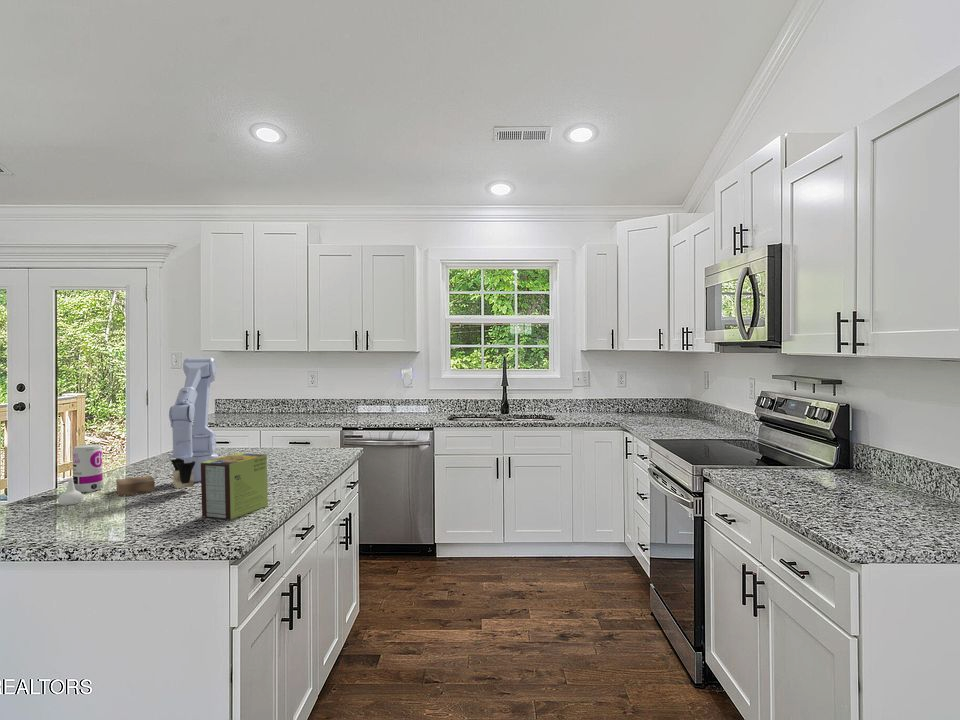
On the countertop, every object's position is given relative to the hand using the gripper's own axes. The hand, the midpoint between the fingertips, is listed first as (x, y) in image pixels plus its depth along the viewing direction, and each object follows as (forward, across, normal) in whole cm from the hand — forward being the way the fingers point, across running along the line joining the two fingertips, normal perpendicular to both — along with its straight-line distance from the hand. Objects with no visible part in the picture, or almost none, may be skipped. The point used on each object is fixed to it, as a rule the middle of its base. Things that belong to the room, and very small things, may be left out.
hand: (183, 481), depth 189 cm
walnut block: (+4, -12, -12) cm, 17 cm away
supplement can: (+3, -24, -24) cm, 34 cm away
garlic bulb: (+4, -8, -30) cm, 31 cm away
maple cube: (+1, 0, 0) cm, 1 cm away
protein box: (+3, +36, +6) cm, 37 cm away
